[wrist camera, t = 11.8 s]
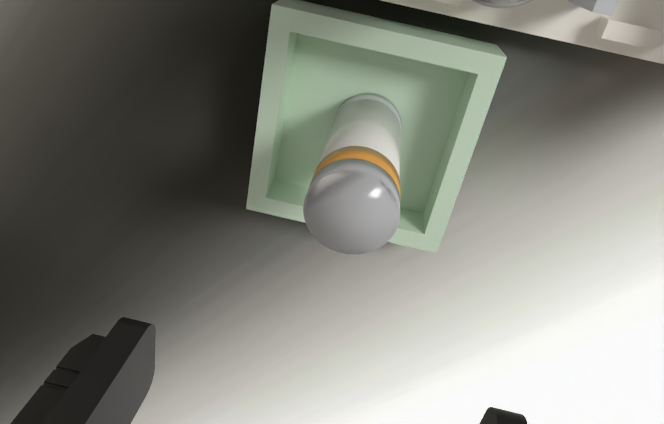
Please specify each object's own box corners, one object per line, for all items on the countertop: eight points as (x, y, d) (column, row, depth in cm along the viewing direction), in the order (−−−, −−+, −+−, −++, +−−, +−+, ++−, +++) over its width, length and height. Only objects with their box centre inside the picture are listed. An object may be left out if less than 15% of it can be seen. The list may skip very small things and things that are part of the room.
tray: (284, -4, 26) (271, 4, 24) (496, 44, 26) (507, 57, 23) (258, 185, 32) (245, 208, 29) (434, 226, 32) (437, 253, 29)
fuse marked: (328, 149, 29) (296, 242, 21) (341, 85, 27) (311, 158, 19) (392, 163, 29) (386, 263, 21) (409, 101, 27) (411, 181, 19)
